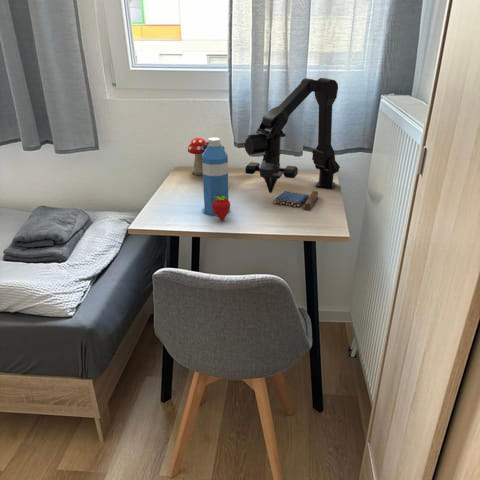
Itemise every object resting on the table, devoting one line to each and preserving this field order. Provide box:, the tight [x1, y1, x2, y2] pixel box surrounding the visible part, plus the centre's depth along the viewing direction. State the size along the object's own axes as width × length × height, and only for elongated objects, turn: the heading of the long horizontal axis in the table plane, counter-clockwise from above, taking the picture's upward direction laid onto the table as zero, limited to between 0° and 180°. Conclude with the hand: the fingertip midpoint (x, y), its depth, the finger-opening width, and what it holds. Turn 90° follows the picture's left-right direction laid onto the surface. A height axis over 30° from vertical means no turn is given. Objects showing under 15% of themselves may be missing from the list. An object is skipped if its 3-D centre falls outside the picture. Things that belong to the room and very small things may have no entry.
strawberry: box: [212, 192, 231, 222], centre depth 166 cm, size 6×8×10 cm
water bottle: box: [202, 137, 230, 216], centre depth 169 cm, size 9×9×25 cm
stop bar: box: [303, 190, 319, 211], centre depth 181 cm, size 14×2×2 cm, turn 161°
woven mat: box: [273, 190, 310, 208], centre depth 183 cm, size 10×11×2 cm
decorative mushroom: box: [187, 137, 207, 176], centre depth 209 cm, size 10×9×15 cm
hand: (270, 192), depth 184 cm, fingers closed
